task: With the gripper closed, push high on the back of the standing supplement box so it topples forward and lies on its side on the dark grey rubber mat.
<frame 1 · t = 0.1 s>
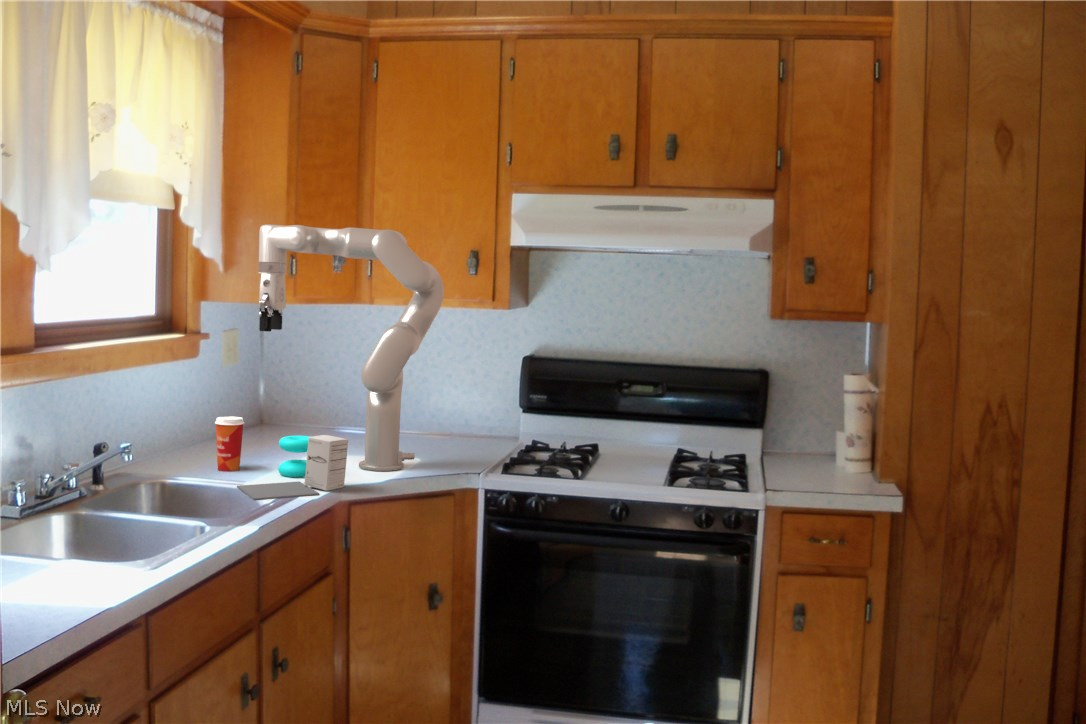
hand: (270, 330, 278), 37 cm above the countertop, tool pointing down, fingers open, 9 cm apart
supplement box: (324, 487, 251), on the countertop, touching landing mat
paper cup: (228, 470, 267), on the countertop
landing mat: (277, 491, 244), on the countertop
donuts: (297, 475, 265), on the countertop
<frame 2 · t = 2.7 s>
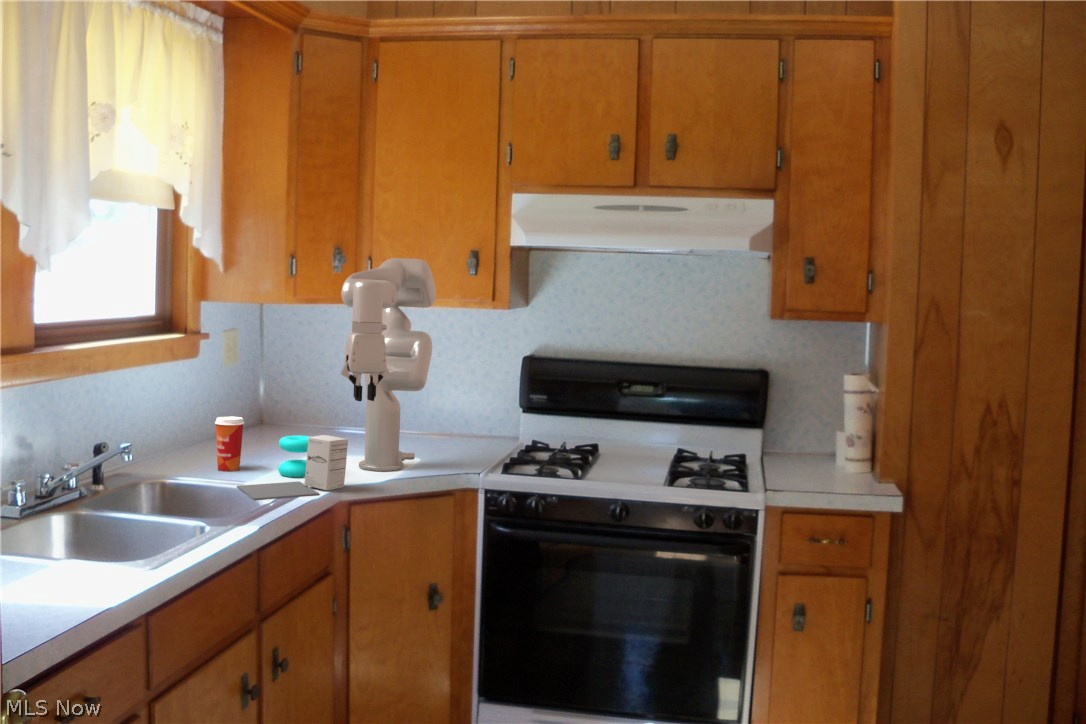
hand: (364, 399, 254), 22 cm above the countertop, tool pointing down, fingers closed
nothing on the countertop moved.
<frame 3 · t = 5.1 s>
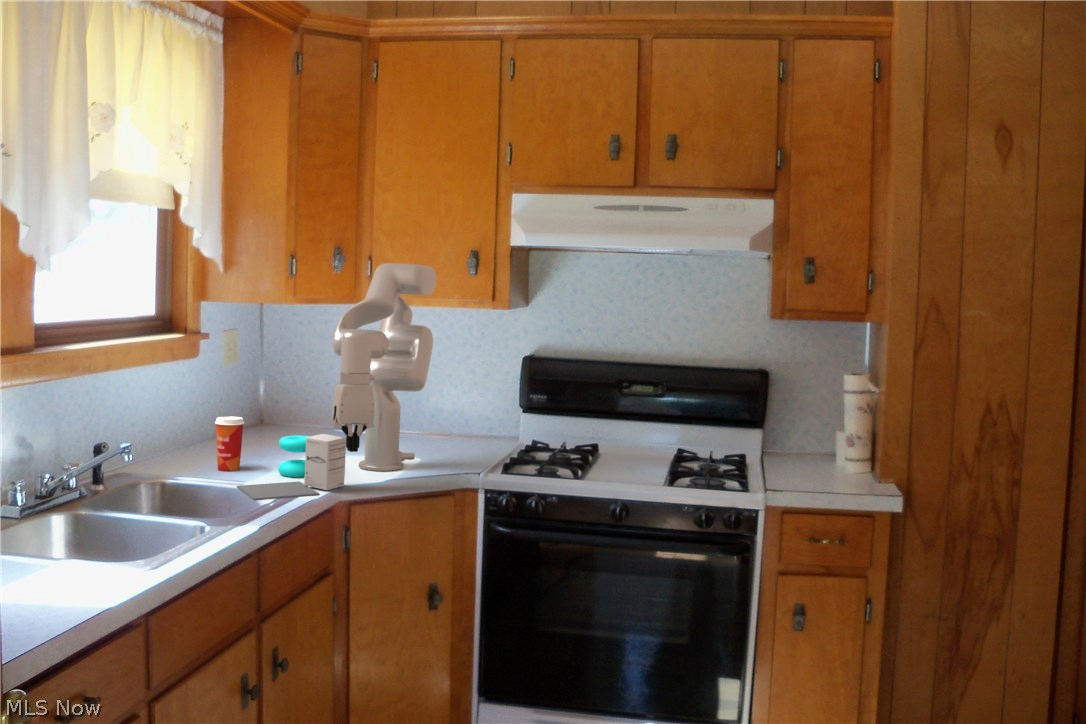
hand: (352, 450, 253), 9 cm above the countertop, tool pointing down, fingers closed
supplement box: (324, 486, 251), on the countertop, touching gripper, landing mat
everything else where it was.
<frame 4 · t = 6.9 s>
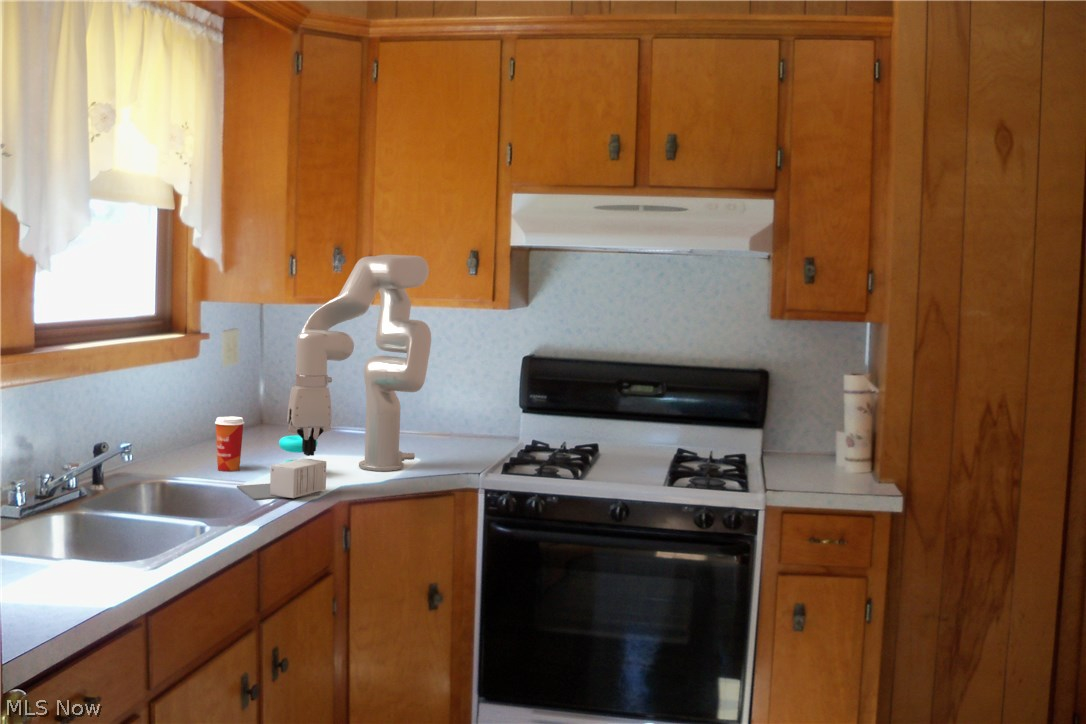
hand: (308, 454, 248), 9 cm above the countertop, tool pointing down, fingers closed
supplement box: (315, 473, 248), point 4 cm above the countertop, touching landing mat
everything else where it was.
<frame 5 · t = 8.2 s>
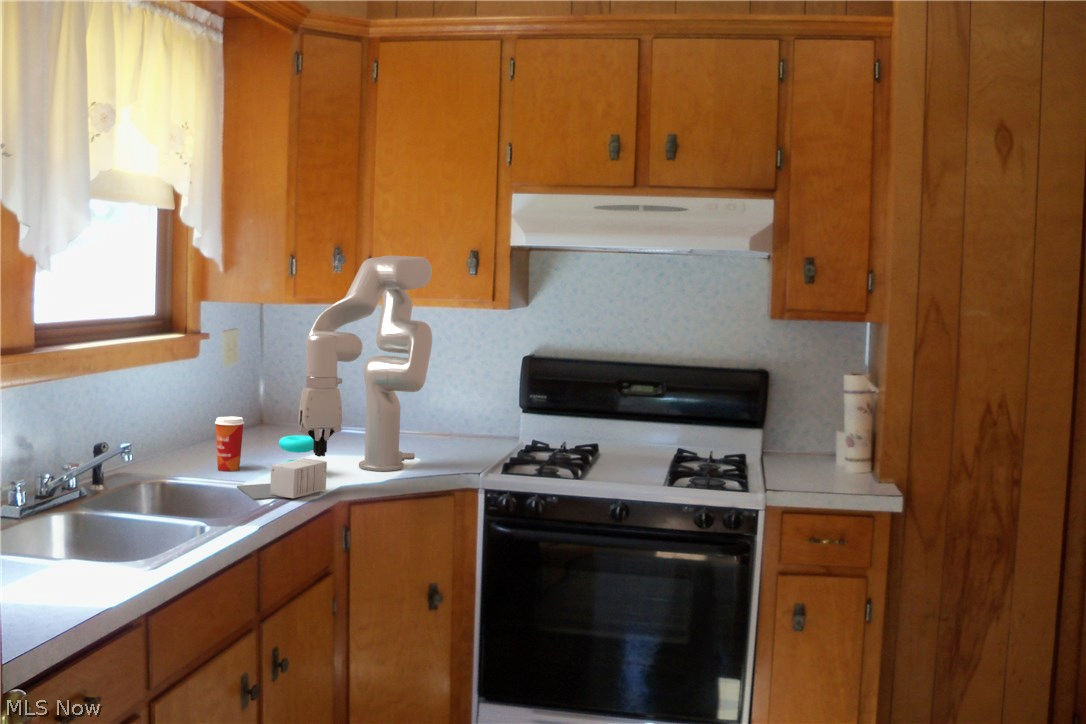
hand: (319, 455, 250), 8 cm above the countertop, tool pointing down, fingers closed
nothing on the countertop moved.
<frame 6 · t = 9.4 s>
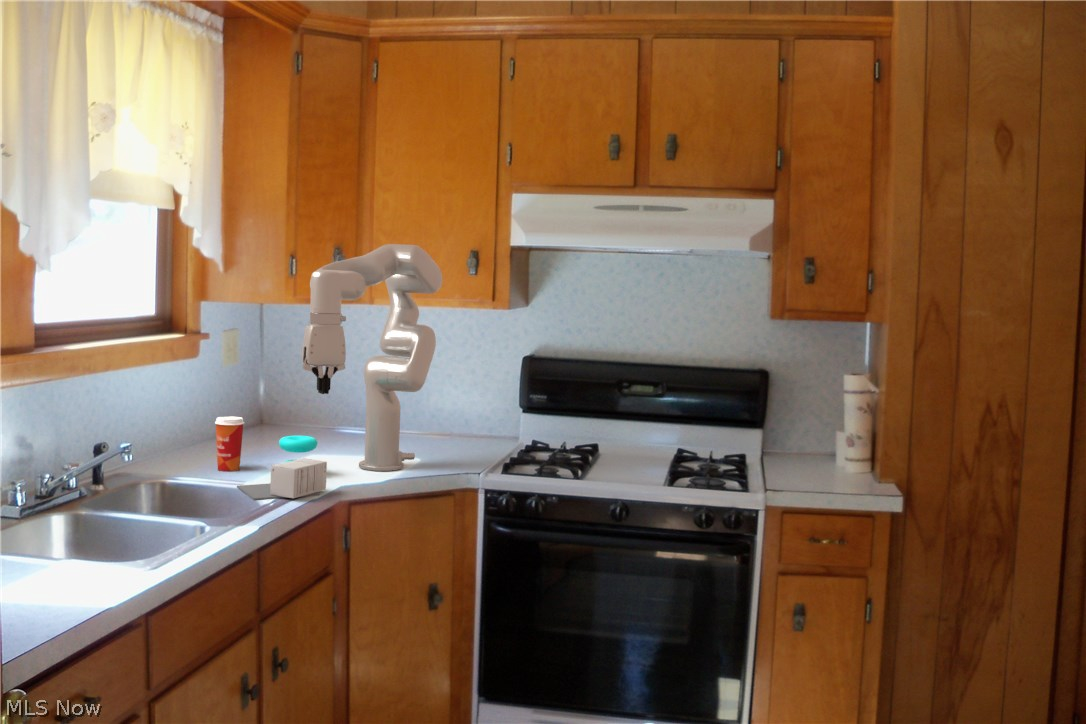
hand: (323, 393, 249), 24 cm above the countertop, tool pointing down, fingers closed
nothing on the countertop moved.
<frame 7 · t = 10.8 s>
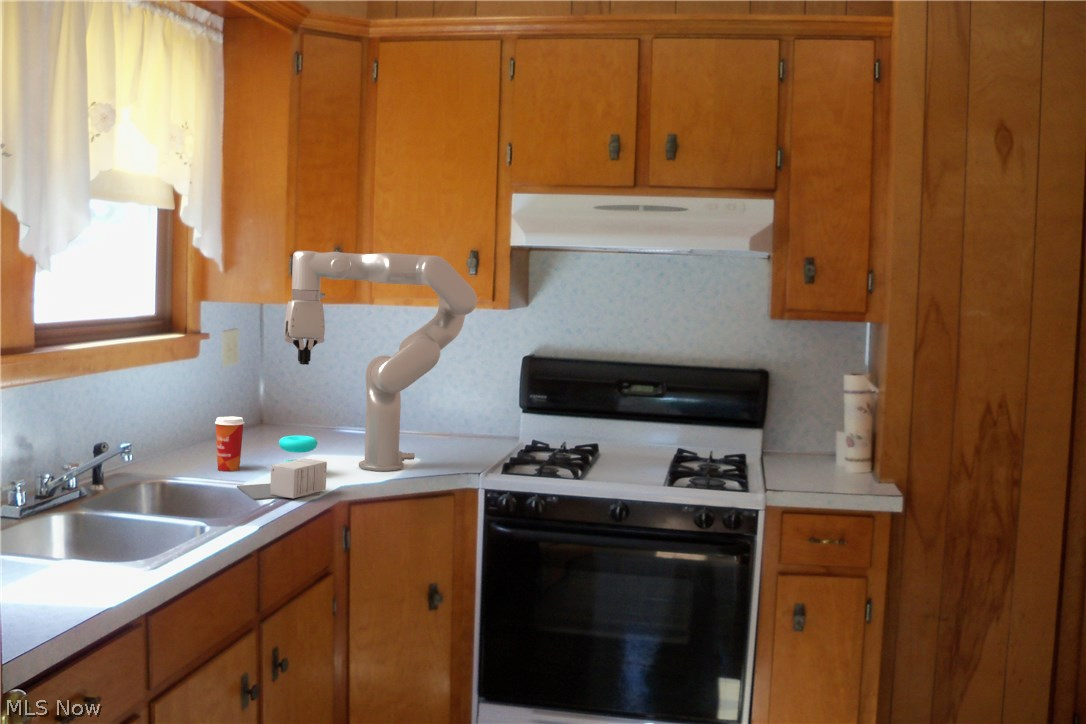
hand: (304, 364, 270), 29 cm above the countertop, tool pointing down, fingers closed
nothing on the countertop moved.
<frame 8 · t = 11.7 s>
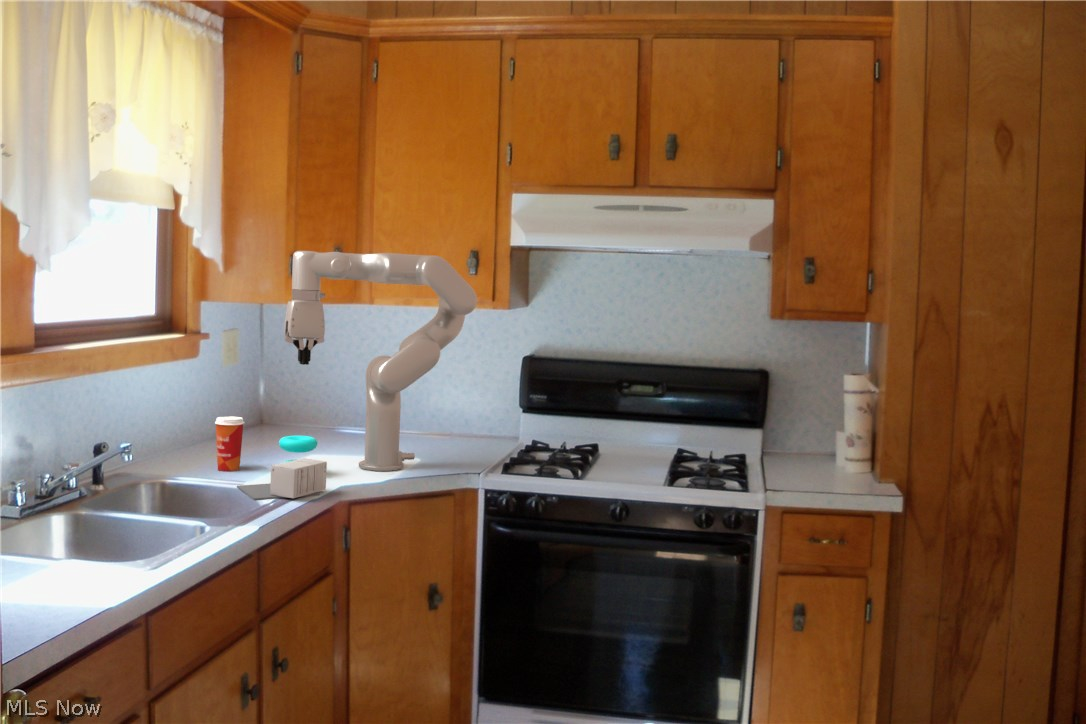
hand: (304, 364, 270), 29 cm above the countertop, tool pointing down, fingers closed
nothing on the countertop moved.
at the end: supplement box tilted 90°; supplement box inside the target area (3.4 cm from its centre), point 4.0 cm above the countertop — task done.
